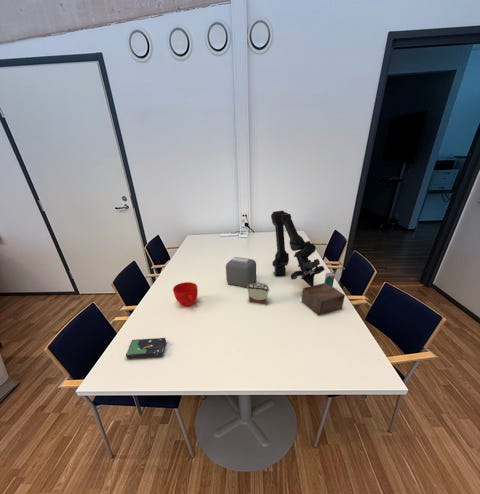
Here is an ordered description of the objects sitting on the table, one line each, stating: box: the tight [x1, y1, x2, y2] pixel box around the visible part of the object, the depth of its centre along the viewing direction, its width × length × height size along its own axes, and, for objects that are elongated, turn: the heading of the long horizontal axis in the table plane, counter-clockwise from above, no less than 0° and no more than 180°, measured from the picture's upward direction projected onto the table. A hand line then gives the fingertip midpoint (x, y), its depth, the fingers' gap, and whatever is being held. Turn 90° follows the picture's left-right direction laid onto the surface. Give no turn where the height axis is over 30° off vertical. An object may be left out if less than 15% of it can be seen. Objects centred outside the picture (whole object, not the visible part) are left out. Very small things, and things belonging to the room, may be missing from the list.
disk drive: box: [125, 337, 167, 360], centre depth 114 cm, size 10×3×15 cm
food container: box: [246, 282, 270, 306], centre depth 145 cm, size 12×6×10 cm, turn 71°
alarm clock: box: [225, 256, 257, 288], centre depth 162 cm, size 16×11×16 cm
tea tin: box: [324, 272, 336, 288], centre depth 152 cm, size 5×5×10 cm
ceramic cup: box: [172, 281, 199, 307], centre depth 143 cm, size 13×17×10 cm
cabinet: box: [301, 282, 346, 317], centre depth 139 cm, size 15×14×8 cm
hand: (312, 287), depth 144 cm, fingers closed, pressing on drawer
